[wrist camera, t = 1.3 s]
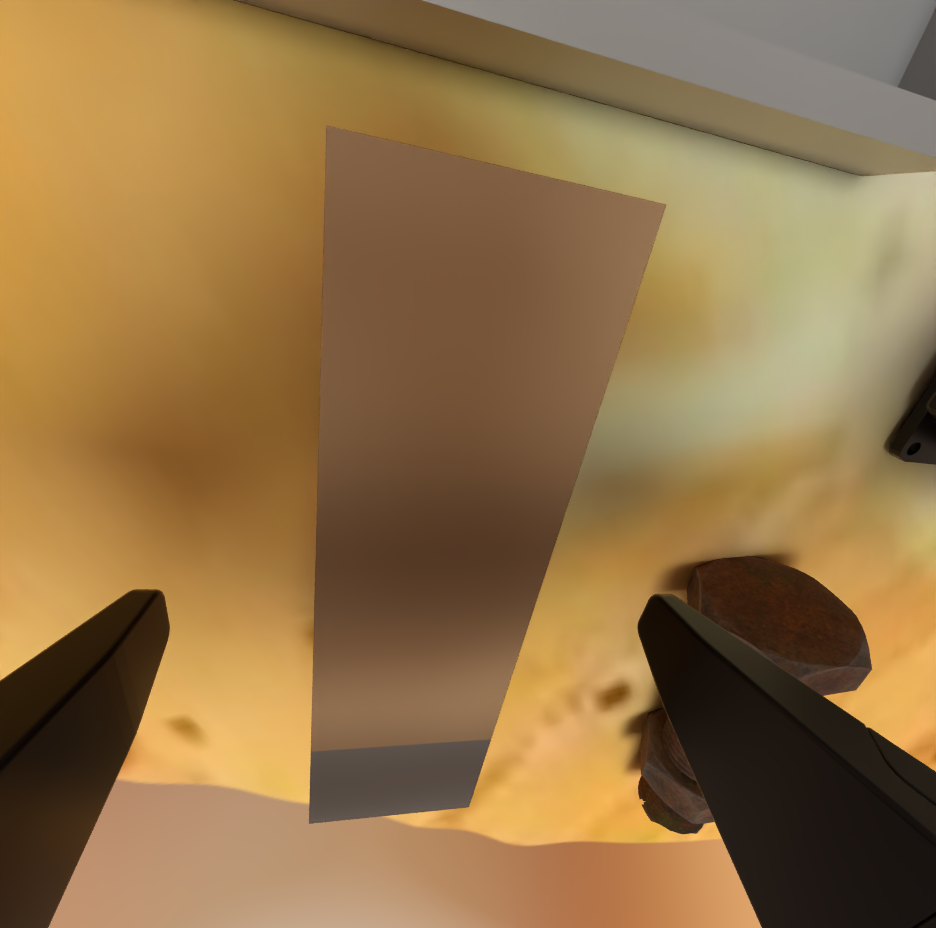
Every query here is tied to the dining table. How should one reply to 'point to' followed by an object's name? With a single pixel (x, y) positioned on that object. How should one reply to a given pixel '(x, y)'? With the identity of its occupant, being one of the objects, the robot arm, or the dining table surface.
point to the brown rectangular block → (447, 448)
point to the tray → (699, 63)
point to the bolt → (772, 635)
